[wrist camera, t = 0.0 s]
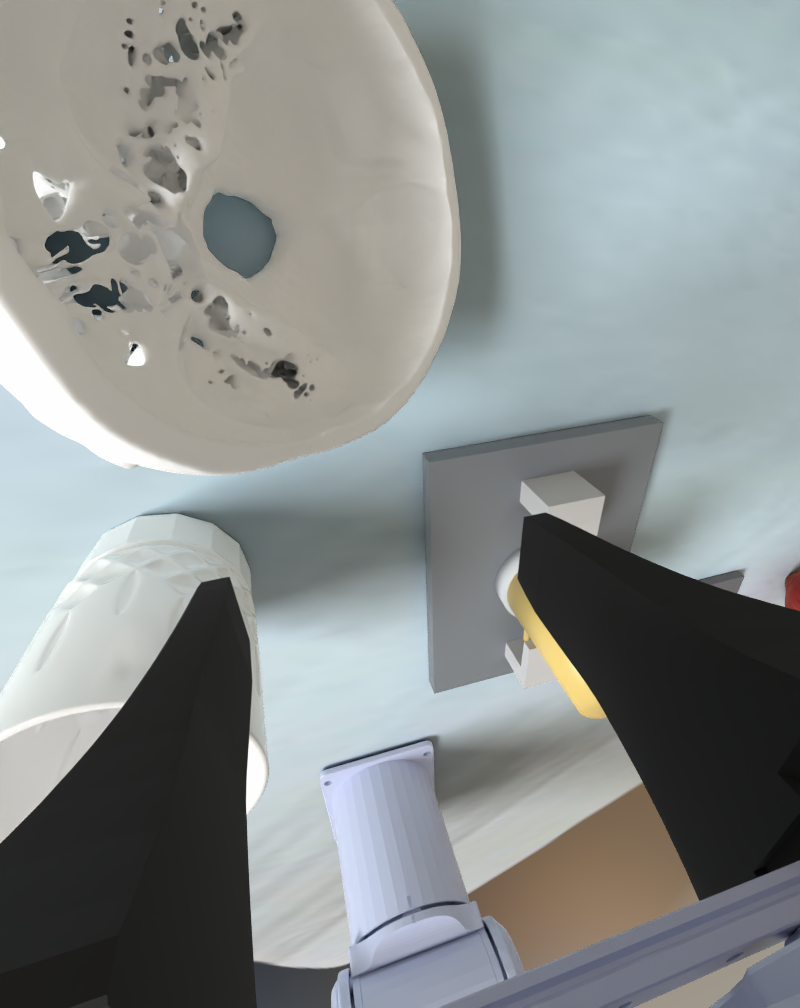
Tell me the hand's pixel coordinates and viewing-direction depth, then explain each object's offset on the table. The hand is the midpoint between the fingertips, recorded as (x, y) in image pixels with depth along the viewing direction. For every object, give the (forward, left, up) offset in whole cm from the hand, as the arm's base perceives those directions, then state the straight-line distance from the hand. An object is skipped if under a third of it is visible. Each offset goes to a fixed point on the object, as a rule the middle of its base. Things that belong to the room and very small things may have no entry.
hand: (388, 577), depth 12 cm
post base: (-10, -10, -10) cm, 17 cm away
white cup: (-6, +8, -10) cm, 14 cm away
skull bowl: (+7, +3, -10) cm, 13 cm away
